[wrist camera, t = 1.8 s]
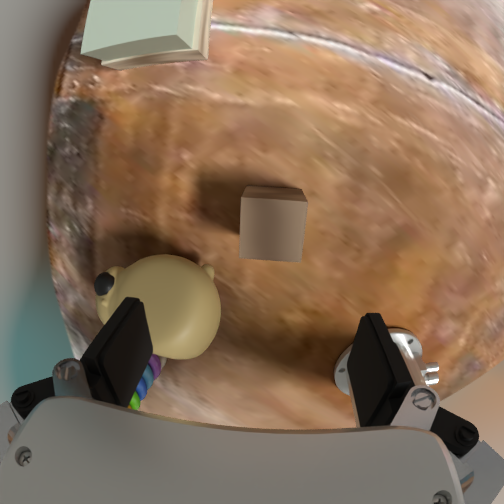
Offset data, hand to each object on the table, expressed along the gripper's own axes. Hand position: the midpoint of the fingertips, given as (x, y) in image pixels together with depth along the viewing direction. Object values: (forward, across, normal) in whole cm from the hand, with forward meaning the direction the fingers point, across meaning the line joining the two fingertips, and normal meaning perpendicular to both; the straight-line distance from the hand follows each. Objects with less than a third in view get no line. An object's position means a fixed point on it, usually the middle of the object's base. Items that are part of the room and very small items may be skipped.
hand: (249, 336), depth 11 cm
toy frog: (+17, +9, +7) cm, 21 cm away
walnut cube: (+17, -1, 0) cm, 17 cm away
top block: (+13, +10, -19) cm, 25 cm away
